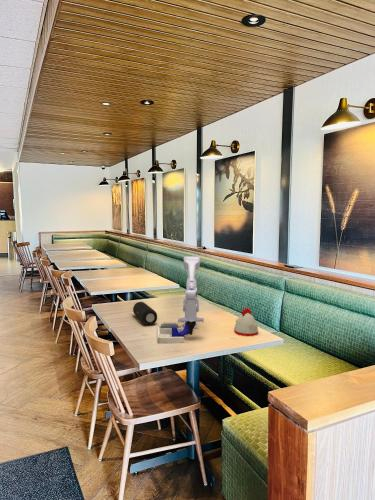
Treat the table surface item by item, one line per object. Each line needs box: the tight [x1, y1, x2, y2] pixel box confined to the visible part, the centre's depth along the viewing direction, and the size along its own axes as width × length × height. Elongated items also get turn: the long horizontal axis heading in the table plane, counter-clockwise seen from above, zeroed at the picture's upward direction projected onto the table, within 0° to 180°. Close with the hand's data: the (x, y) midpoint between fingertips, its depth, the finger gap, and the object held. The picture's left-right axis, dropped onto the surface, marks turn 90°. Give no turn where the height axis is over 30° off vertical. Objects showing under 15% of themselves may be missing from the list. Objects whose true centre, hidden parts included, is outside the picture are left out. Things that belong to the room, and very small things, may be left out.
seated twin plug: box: [160, 322, 179, 328], centre depth 212 cm, size 4×10×5 cm, turn 96°
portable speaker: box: [132, 301, 158, 326], centre depth 234 cm, size 26×10×10 cm, turn 24°
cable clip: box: [171, 322, 189, 338], centre depth 207 cm, size 12×4×6 cm, turn 135°
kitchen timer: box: [233, 307, 259, 337], centre depth 214 cm, size 14×14×15 cm
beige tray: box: [157, 324, 185, 344], centre depth 205 cm, size 21×14×3 cm, turn 6°
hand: (190, 334), depth 202 cm, fingers closed
